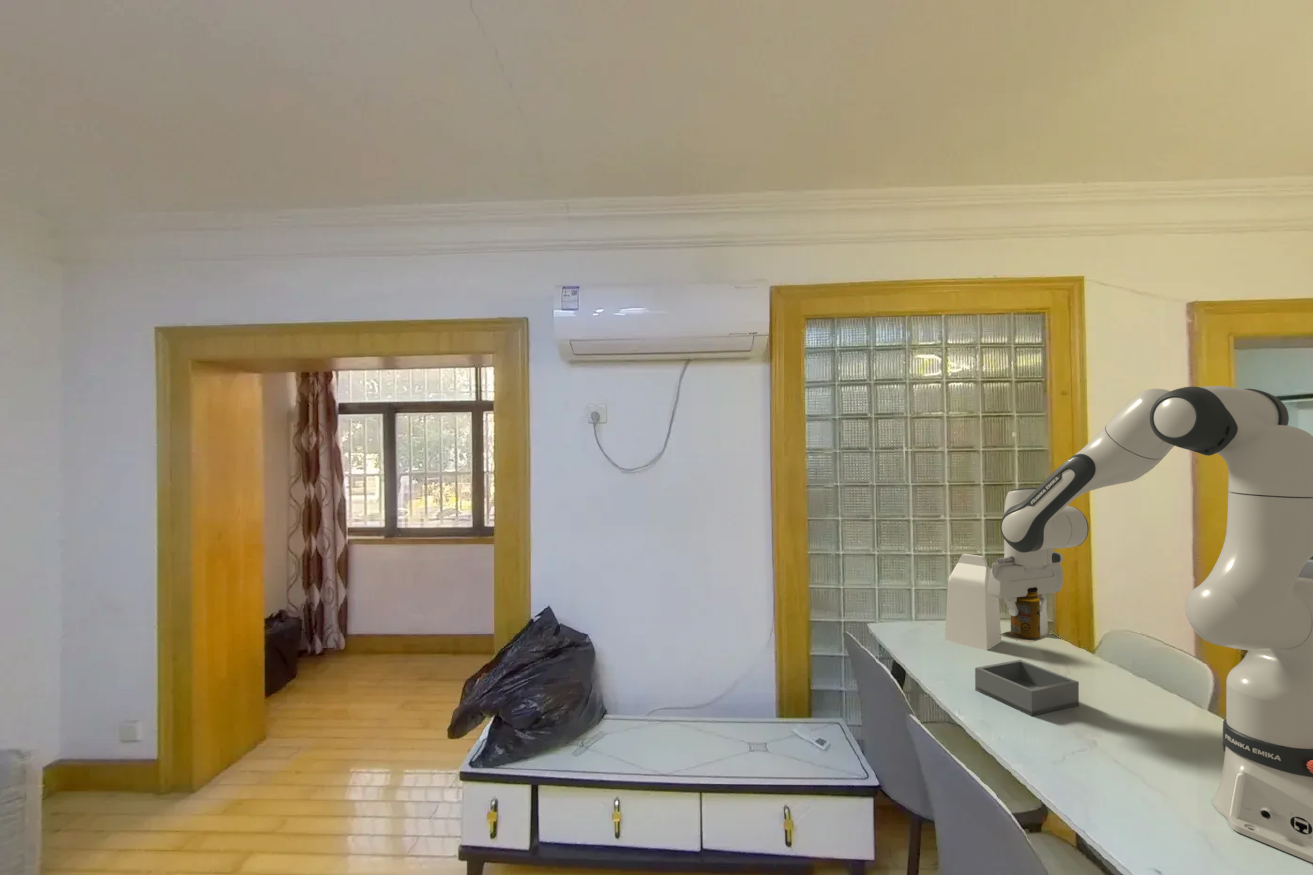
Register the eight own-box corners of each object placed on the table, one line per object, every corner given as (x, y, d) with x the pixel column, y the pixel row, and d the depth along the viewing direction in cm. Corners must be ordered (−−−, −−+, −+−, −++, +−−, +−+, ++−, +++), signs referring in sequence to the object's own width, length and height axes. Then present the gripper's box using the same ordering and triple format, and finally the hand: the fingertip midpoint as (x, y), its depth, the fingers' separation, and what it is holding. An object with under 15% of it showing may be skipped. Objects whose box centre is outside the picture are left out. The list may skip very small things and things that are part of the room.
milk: (944, 640, 188) (944, 555, 188) (960, 632, 196) (960, 550, 196) (986, 650, 179) (986, 560, 179) (1001, 641, 187) (1001, 555, 187)
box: (1078, 705, 143) (1078, 681, 143) (1031, 716, 137) (1031, 691, 137) (1019, 681, 157) (1019, 659, 157) (975, 690, 151) (975, 667, 151)
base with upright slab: (1008, 627, 200) (1007, 590, 200) (1029, 625, 203) (1029, 588, 203) (1032, 636, 192) (1032, 597, 191) (1054, 633, 194) (1054, 595, 194)
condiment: (1048, 637, 146) (1047, 586, 146) (1030, 644, 141) (1029, 591, 141) (1016, 629, 152) (1015, 580, 152) (997, 636, 147) (996, 585, 147)
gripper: (1004, 561, 140) (1004, 622, 140) (1068, 554, 147) (1068, 612, 147) (981, 556, 146) (981, 614, 146) (1043, 550, 153) (1043, 606, 153)
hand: (1025, 613), depth 147 cm, fingers closed on condiment, 6 cm apart
